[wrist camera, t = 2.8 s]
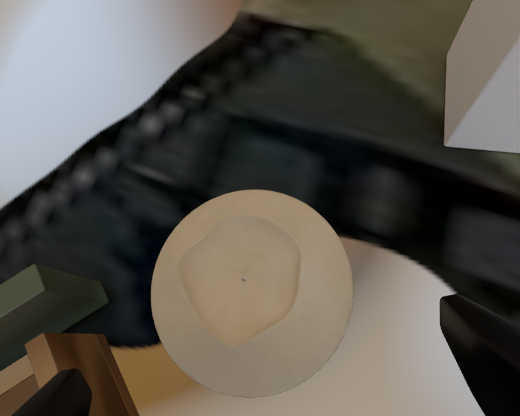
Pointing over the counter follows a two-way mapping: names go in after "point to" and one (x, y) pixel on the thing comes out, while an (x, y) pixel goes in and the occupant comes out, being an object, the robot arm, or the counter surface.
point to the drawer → (57, 338)
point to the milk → (485, 79)
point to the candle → (252, 293)
